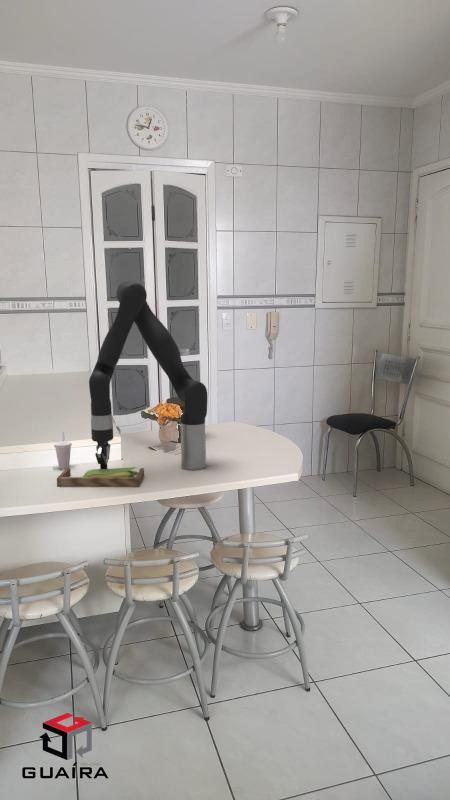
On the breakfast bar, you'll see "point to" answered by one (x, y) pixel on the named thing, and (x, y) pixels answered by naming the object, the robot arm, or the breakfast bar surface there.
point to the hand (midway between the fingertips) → (104, 473)
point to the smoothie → (63, 453)
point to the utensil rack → (98, 480)
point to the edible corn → (111, 472)
